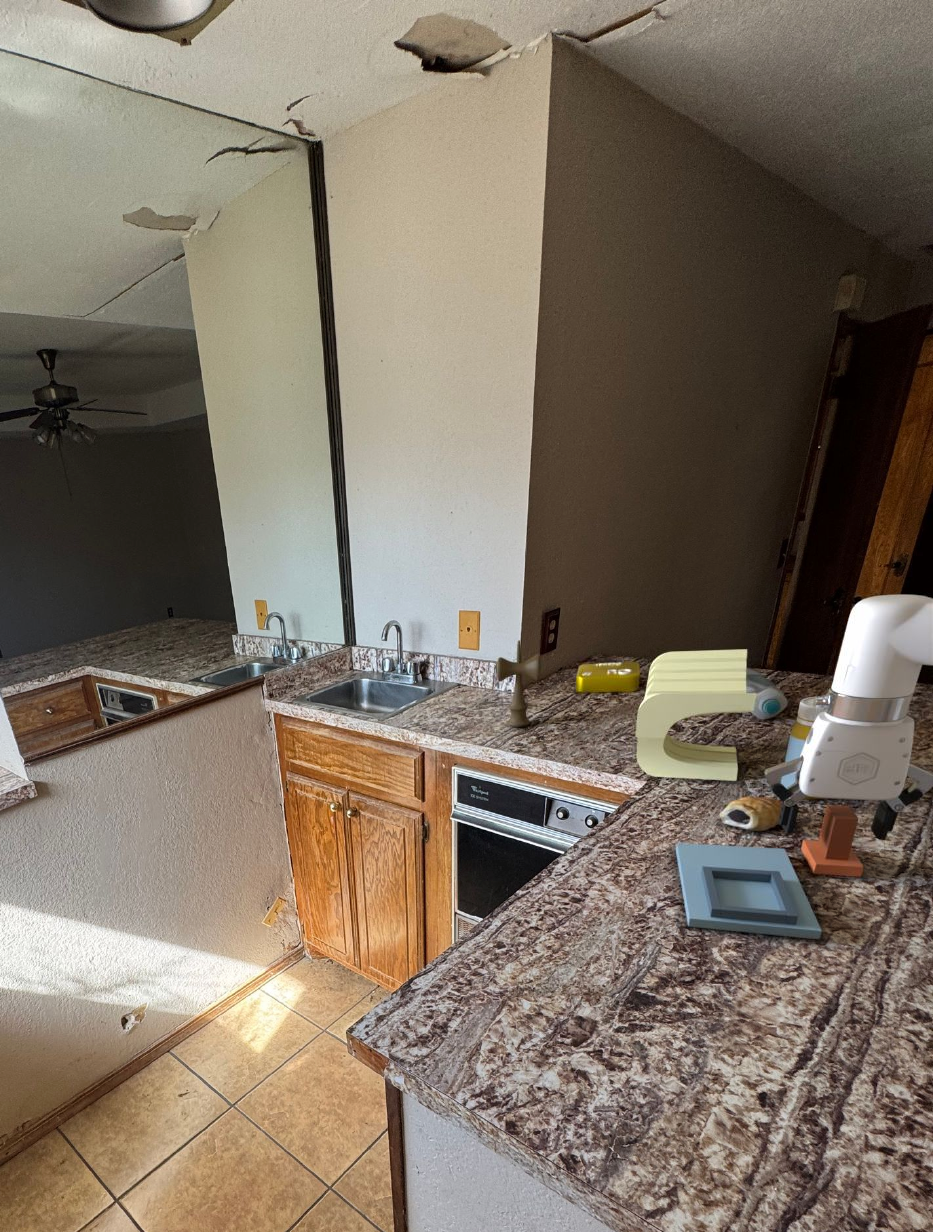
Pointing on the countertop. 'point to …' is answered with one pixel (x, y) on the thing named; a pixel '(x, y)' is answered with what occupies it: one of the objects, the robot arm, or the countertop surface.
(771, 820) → the pastry
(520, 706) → the kendama
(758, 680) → the detergent
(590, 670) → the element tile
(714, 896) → the back board
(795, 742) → the bottle
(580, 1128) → the countertop surface
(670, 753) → the slatted curved stool
